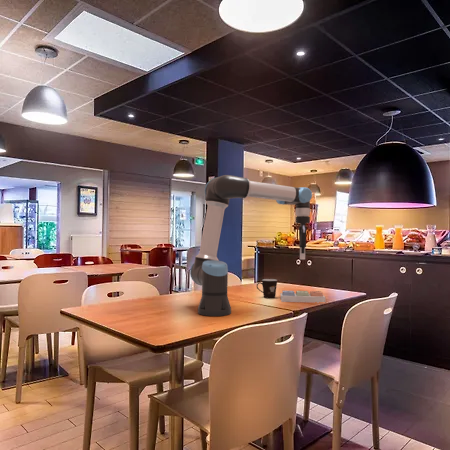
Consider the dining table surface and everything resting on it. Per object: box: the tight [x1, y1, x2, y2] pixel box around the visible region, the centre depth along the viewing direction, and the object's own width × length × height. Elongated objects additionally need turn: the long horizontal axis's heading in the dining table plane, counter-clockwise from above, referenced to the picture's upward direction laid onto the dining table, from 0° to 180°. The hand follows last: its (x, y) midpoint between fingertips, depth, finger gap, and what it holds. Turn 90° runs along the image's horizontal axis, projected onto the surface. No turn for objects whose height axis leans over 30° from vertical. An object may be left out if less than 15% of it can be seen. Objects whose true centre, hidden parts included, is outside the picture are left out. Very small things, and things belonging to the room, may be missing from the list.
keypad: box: [279, 292, 326, 304], centre depth 211 cm, size 23×10×3 cm, turn 86°
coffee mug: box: [256, 278, 278, 300], centre depth 220 cm, size 12×9×10 cm
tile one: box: [281, 290, 296, 296], centre depth 212 cm, size 6×6×3 cm
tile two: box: [295, 290, 310, 296], centre depth 212 cm, size 6×6×3 cm
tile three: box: [309, 290, 324, 296], centre depth 211 cm, size 6×6×3 cm
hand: (302, 259), depth 212 cm, fingers closed
